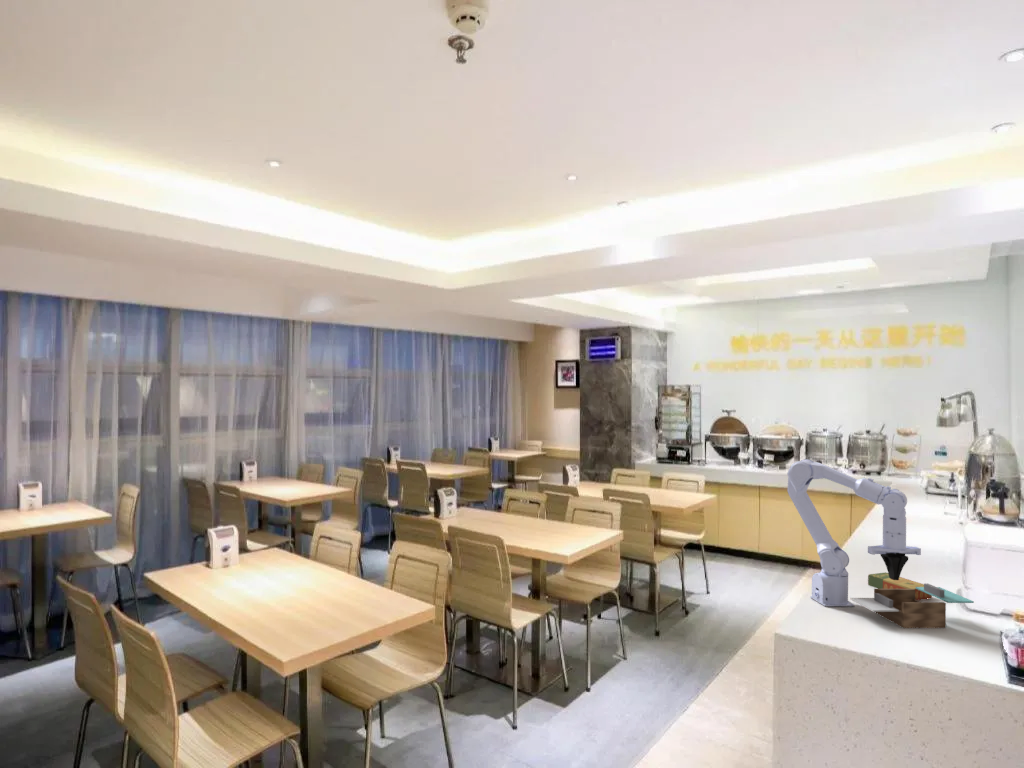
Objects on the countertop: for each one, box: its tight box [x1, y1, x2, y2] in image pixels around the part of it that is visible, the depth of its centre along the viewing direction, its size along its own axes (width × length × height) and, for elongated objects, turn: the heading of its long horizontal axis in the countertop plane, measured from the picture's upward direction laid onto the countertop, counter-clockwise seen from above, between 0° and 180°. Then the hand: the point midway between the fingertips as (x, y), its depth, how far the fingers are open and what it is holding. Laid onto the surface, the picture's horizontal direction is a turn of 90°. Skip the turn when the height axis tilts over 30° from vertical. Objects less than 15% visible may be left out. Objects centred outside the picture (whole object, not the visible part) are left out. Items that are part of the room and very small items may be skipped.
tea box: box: [873, 588, 947, 629], centre depth 167 cm, size 12×12×7 cm
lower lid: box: [849, 592, 899, 613], centre depth 166 cm, size 7×10×2 cm
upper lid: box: [916, 583, 975, 604], centre depth 167 cm, size 7×12×2 cm, turn 3°
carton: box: [867, 572, 933, 601], centre depth 191 cm, size 8×16×4 cm, turn 18°
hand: (894, 579), depth 170 cm, fingers closed
